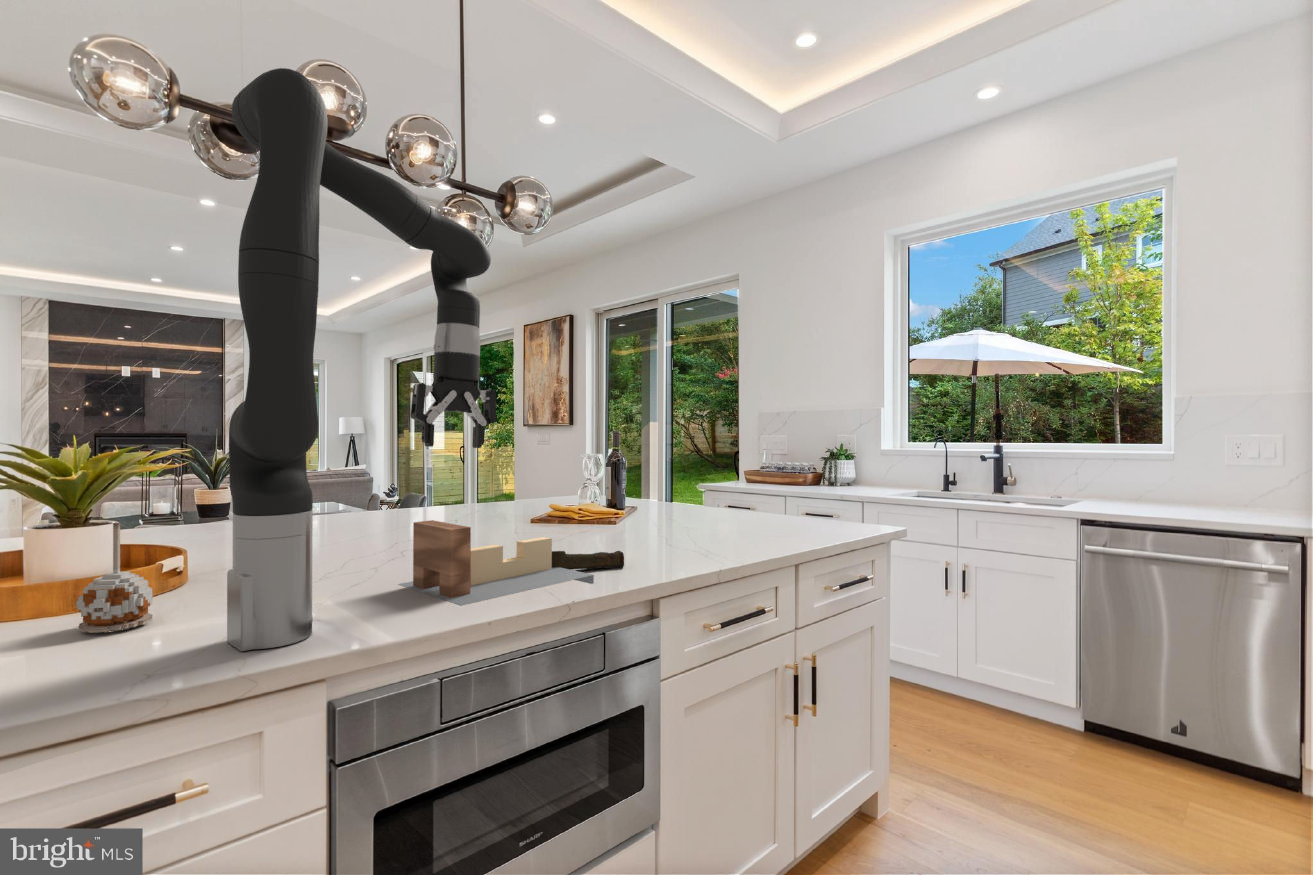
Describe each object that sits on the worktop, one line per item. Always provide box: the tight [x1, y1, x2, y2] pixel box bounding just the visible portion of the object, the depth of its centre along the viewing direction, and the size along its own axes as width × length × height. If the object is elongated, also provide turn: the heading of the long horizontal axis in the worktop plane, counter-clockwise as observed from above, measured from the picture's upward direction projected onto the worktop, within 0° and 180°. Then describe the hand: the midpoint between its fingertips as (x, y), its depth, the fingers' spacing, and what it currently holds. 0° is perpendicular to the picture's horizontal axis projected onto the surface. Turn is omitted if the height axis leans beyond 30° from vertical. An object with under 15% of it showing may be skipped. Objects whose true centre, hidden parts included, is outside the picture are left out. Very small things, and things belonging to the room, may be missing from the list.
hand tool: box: [552, 550, 625, 570], centre depth 128 cm, size 19×4×5 cm, turn 117°
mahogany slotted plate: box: [412, 519, 472, 598], centre depth 105 cm, size 4×12×11 cm, turn 49°
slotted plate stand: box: [398, 536, 595, 606], centre depth 113 cm, size 28×20×8 cm
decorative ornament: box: [75, 522, 153, 634], centre depth 89 cm, size 8×8×15 cm
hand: (453, 447), depth 107 cm, fingers open, 8 cm apart
